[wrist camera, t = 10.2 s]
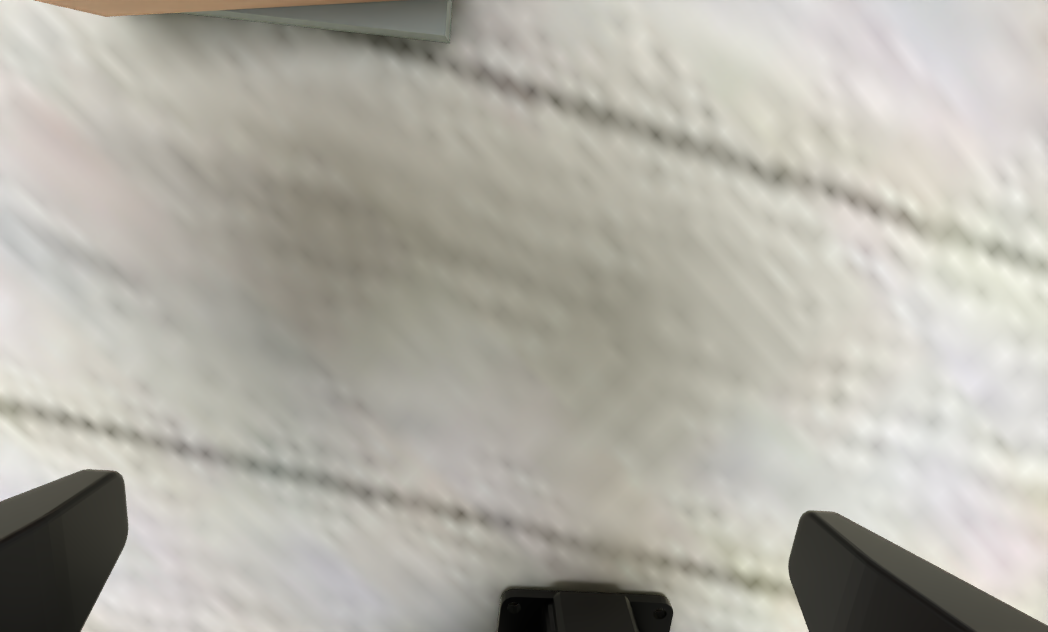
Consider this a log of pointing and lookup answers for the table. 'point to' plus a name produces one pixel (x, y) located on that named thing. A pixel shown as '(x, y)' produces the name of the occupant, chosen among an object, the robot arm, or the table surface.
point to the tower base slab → (358, 17)
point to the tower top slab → (182, 5)
